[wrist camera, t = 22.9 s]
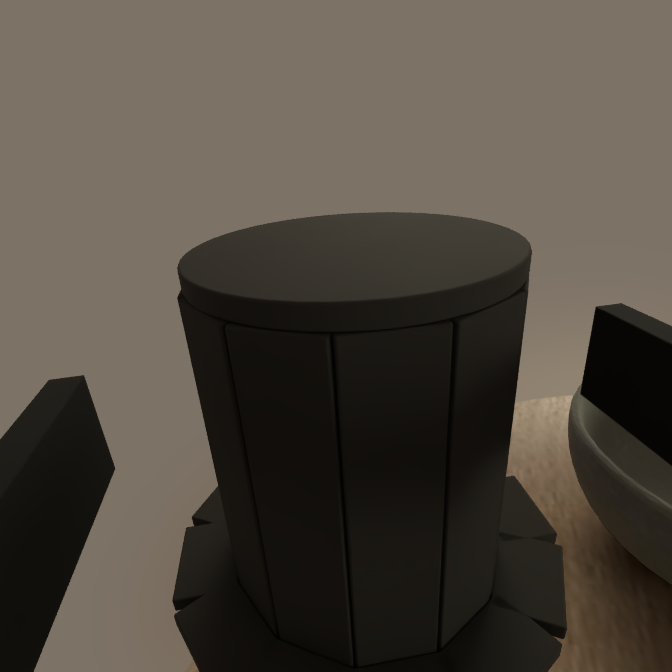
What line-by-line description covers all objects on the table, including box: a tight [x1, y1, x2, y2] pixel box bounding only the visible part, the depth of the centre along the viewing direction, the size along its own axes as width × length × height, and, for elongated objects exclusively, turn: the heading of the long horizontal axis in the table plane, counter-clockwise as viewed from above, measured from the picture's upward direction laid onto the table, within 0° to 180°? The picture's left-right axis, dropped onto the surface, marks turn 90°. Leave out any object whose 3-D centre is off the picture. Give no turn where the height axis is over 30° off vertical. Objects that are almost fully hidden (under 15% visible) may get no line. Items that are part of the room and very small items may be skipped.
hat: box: [173, 212, 567, 672], centre depth 14 cm, size 13×13×11 cm
